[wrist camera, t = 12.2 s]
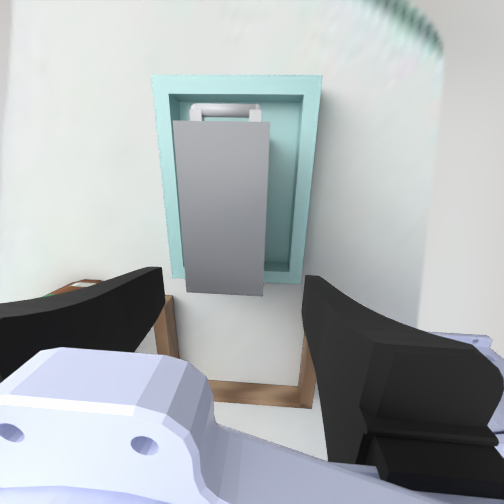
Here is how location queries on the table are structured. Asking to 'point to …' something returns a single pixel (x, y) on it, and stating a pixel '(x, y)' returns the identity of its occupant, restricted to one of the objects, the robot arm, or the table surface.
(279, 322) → the table surface
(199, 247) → the gray box with handle
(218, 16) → the table surface
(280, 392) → the frame
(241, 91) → the tray
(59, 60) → the table surface
